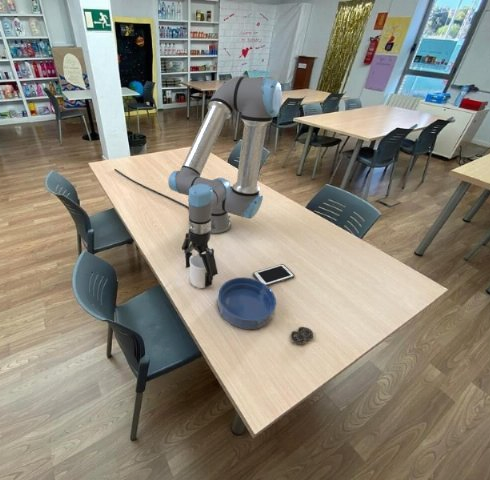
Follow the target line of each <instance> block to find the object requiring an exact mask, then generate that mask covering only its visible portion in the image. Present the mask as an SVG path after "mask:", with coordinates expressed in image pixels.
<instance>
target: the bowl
mask: <svg viewBox="0 0 490 480" xmlns="http://www.w3.org/2000/svg"><path fill="white" fill-rule="evenodd" d="M217 296H218V297H217V308H218V309H217V310H218V312H219V313H220V315H221V317H222V318H223V319H224V320H225V321H226V322H227V323H230V324H231V325H232V326H233V327H237V328H240V329H243V330H256V329H259V328H262V327H265V326H266V325H268V324H269V323H270V322H271V320H272V319H273V318H274V313H275V310H276V306H277V298H276V296H275V294H274V292H273V290H272V289H271V288H270V287H269V285H268V286H266V285H265V284H264V283H262V282H260V281H258V280H257V279H256V278H251V277H243V276H242V277H234V278H231V279H229V280H227V281H225V282H224V283H223V284H222V285H221V286H220V288H219V290H218V295H217Z"/></svg>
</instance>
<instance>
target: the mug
mask: <svg viewBox="0 0 490 480" xmlns="http://www.w3.org/2000/svg"><path fill="white" fill-rule="evenodd" d="M189 262H190V267H189V269H190V270H189V280H190V283H191V285H192V286H194V287H195V288H199V289H204V288H206V287H205V273H207V272H206V268H205V266H204V263H203V260H202V258H201V257H200V256H199V253H197V254H194V255H193V254H192V256H190V259H189Z"/></svg>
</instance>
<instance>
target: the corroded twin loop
mask: <svg viewBox="0 0 490 480" xmlns="http://www.w3.org/2000/svg"><path fill="white" fill-rule="evenodd" d="M303 332H304V333H303ZM305 334H306V335H305ZM290 337H291V341H292V342H293V343H295V344H298V345H303V344H305V343H306V341H311V340H313V339H314V332H313V330H312V329H311V328H308V327H306V326H299V327H298V330H293V331H291V333H290Z"/></svg>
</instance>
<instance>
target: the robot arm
mask: <svg viewBox="0 0 490 480" xmlns="http://www.w3.org/2000/svg"><path fill="white" fill-rule="evenodd" d="M282 98H283V92H282V86H281V84H280V82H279V81H278V80H276V79H273V78H267V77H252V76H251V77H249V76H241V75H240V76H235V77H232V78H230V79H228V80H227V81H225V82H223V83H222V84H221V85H220V86H219V87H218V88H217V90H216V91H215V92H214V93H213V94H212V96H211V98H210V99H209V101H208V104H207V113H206V115H205V117H204V119H203V120H202V123H201V125H200V127H199V129H198V131H197V134H196V137H195V138H194V140H193V142H192V144H191V147H190V149H189V151H188V153H187V155H186V157H185V159H184V162H183V164H182V165H181V167H180V170H173V171H172V172H171V173H170V175H169V176H168V181H167V182H168V187H169V189H170V191H173V192H176V193H178V194H181V195H185V196H188V198H187V202H188V205H186V204H184V203H182V202H180V201H179V200H176V199H175V198H172V197H170V196H168V195H166V194H163V193H161V192H160V191H157V190H155V189H152V188H150V187H149V186H147V185H144V184H141V183H139V182H137V181H136V180H134V179H132V178H130V177H129V176H127V175H125V174H123V172H121V171H119V170H117V169H116V168H114V171H115V172H117V173H118V174H120V175H121V176H122V177H124V178H126V179H127V180H129V181H131V182H133V183H135V184H136V185H138V186H140V187H143V188H145V189H147V190H149V191H151V192H153V193H155V194H158V195H160V196H162V197H163V198H166V199H168V200H170V201H172V202H175V203H177V204H179V205H180V206H183V207H185V208H186V209H188V232H186V233H185V238H184V241H183V243H182V245H181V250H182V251H184V256H185V257H184V258H185V268H186V269H189V268H190V262H189V259H190V256H192V255H193V250H194V251H195V252H197V254H199V256H200V257H201V258H202V260H203V263H204V266H205V268H206V272H207V273H205V288H207V287H209V286H211V285H212V284H213V281H214V277H215V276H216V275H218V272H219V271H218V267H217V263H216V262H217V261H216V258H215V249H214V248H210V247H209V242H210V240H211V234H222V233H225V232H227V231H228V230H229V229H230V227H231V220H230V219H231V215H229V214H232V215H235V216H237V217H241V218H243V219H248V220H251V219H253V218H255V216H256V215H257V213H258V212H259V210H260V208H261V207H262V206H261V205H262V202H263V200H264V195H263V194H261V193H260V191H261V189H260V187H259V185H258V181H259V173H260V169H261V164H262V163H261V162H262V158H263V152H264V146H265V139H266V134H267V130H268V125H269V124H271V123H272V122H273V120H274V119H273V118H274V117H277V116H278V115H279V113H280V109H281V106H282ZM235 112H238V113H241V116H240V120H241V121H242V122H243V132H242V138H241V148H240V154H239V160H238V161H239V162H238V169H237V177H236V182H235V183H233V185H231V182H230V181H229V179H226V178H225V177H217V178H214V179H209V178H205V177H201V175H202V173H203V170H204V169H205V167H206V164H207V161H208V160H209V158H210V155H211V153H212V151H213V149H214V147H215V145H216V143H217V140H218V138H219V137H220V136H219V135H220V134H221V131H222V129H223V127H224V126H225V124H226V121H227V120H229V119H230V118H231V117H232V115H233V113H235Z"/></svg>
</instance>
